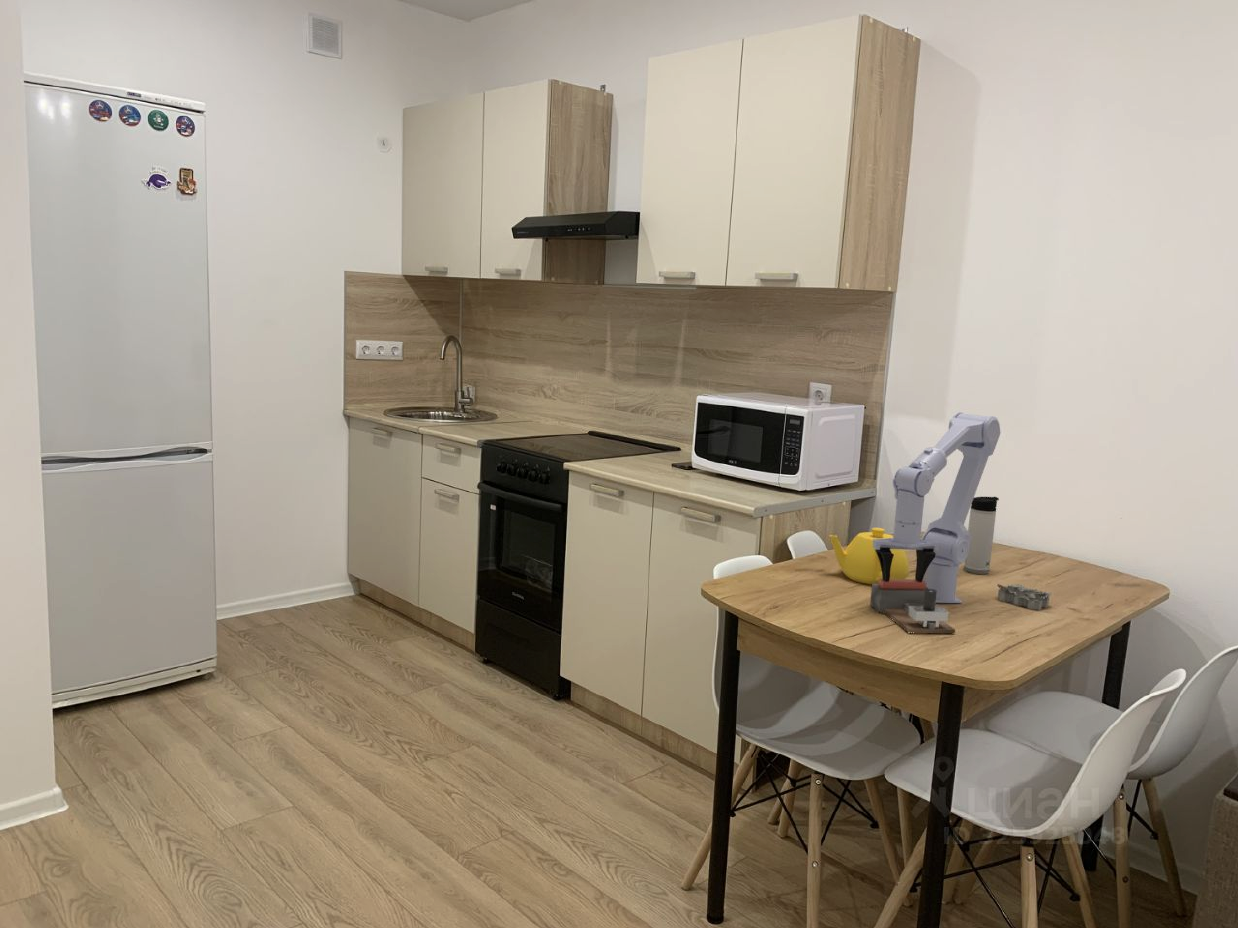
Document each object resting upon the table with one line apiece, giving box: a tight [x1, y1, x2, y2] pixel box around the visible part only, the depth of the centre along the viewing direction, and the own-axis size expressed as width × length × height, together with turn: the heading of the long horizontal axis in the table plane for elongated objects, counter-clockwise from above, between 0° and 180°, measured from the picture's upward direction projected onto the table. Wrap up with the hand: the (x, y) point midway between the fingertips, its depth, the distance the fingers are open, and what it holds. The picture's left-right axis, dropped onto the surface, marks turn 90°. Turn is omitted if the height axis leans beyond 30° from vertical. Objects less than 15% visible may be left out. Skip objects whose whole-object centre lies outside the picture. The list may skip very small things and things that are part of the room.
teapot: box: [829, 527, 910, 585], centre depth 235 cm, size 20×19×13 cm
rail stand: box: [869, 584, 956, 634], centre depth 204 cm, size 19×12×5 cm, turn 6°
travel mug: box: [963, 496, 1000, 575], centre depth 247 cm, size 6×7×20 cm
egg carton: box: [997, 583, 1053, 611], centre depth 221 cm, size 11×8×4 cm
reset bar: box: [878, 578, 926, 589], centre depth 211 cm, size 2×10×2 cm, turn 96°
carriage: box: [909, 589, 950, 627], centre depth 197 cm, size 4×7×7 cm, turn 96°
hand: (902, 580), depth 211 cm, fingers open, 7 cm apart
